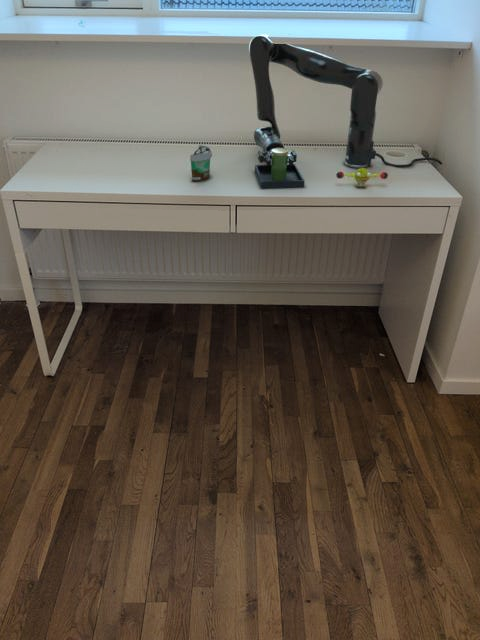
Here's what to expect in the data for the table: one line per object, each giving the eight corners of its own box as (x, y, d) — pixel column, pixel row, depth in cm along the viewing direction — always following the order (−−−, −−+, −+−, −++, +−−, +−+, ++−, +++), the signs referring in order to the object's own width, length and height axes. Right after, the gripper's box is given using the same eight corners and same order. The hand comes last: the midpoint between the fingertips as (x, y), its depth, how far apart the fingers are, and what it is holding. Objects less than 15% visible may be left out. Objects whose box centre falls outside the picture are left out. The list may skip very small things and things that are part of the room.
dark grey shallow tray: (294, 170, 204) (295, 164, 202) (303, 187, 190) (304, 180, 188) (254, 171, 202) (255, 165, 201) (261, 188, 188) (261, 181, 187)
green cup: (284, 174, 199) (286, 147, 193) (287, 180, 194) (289, 152, 188) (269, 175, 198) (270, 147, 192) (271, 180, 193) (272, 153, 188)
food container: (207, 184, 191) (207, 156, 185) (191, 183, 192) (189, 155, 186) (216, 172, 201) (215, 145, 195) (200, 171, 202) (199, 144, 196)
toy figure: (336, 189, 188) (338, 170, 184) (334, 184, 193) (336, 165, 189) (387, 190, 188) (391, 171, 185) (384, 184, 193) (387, 165, 189)
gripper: (254, 139, 201) (260, 153, 188) (292, 138, 202) (301, 152, 189) (254, 158, 205) (260, 174, 192) (291, 158, 207) (299, 173, 193)
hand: (280, 163), depth 191 cm, fingers open, 7 cm apart
